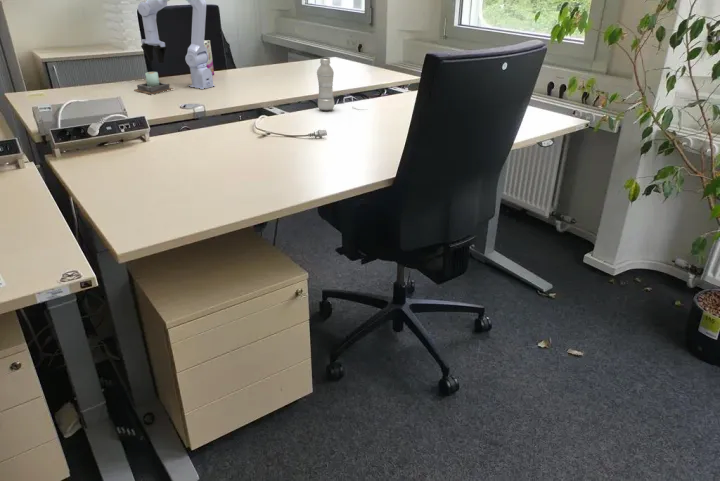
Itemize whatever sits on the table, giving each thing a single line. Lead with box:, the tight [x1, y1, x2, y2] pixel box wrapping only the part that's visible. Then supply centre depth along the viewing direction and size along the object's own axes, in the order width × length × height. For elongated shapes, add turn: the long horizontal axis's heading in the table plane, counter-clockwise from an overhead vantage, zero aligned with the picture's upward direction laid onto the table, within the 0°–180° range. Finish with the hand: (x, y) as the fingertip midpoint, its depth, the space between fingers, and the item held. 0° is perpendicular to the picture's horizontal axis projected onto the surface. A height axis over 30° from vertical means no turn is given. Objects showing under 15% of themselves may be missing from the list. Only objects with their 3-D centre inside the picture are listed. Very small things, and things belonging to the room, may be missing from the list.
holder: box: [133, 81, 174, 95], centre depth 242 cm, size 12×12×3 cm
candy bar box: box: [204, 39, 215, 77], centre depth 265 cm, size 11×5×16 cm, turn 179°
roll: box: [144, 71, 160, 87], centre depth 241 cm, size 5×5×7 cm
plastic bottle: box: [316, 57, 335, 112], centre depth 213 cm, size 6×7×20 cm
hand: (156, 61), depth 253 cm, fingers open, 7 cm apart
